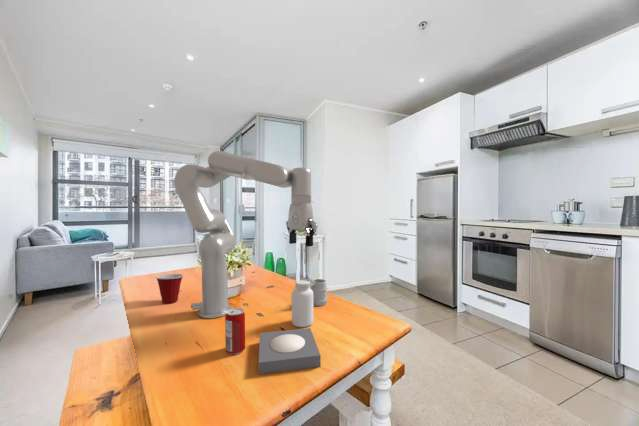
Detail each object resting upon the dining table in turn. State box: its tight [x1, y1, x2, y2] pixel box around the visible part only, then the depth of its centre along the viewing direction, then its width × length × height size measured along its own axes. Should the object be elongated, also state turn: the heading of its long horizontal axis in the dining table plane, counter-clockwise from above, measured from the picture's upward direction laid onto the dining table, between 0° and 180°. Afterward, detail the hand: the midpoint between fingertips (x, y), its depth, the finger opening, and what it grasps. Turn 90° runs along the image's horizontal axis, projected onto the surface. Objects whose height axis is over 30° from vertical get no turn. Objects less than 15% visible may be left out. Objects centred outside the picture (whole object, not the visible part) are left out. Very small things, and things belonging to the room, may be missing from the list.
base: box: [258, 327, 322, 375], centre depth 76 cm, size 16×16×3 cm
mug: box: [306, 278, 329, 307], centre depth 114 cm, size 8×12×12 cm, turn 132°
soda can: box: [224, 307, 246, 355], centre depth 78 cm, size 6×6×12 cm
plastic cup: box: [155, 273, 184, 305], centre depth 118 cm, size 11×11×12 cm
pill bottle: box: [291, 279, 314, 328], centre depth 96 cm, size 8×8×15 cm
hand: (300, 244), depth 102 cm, fingers open, 9 cm apart
